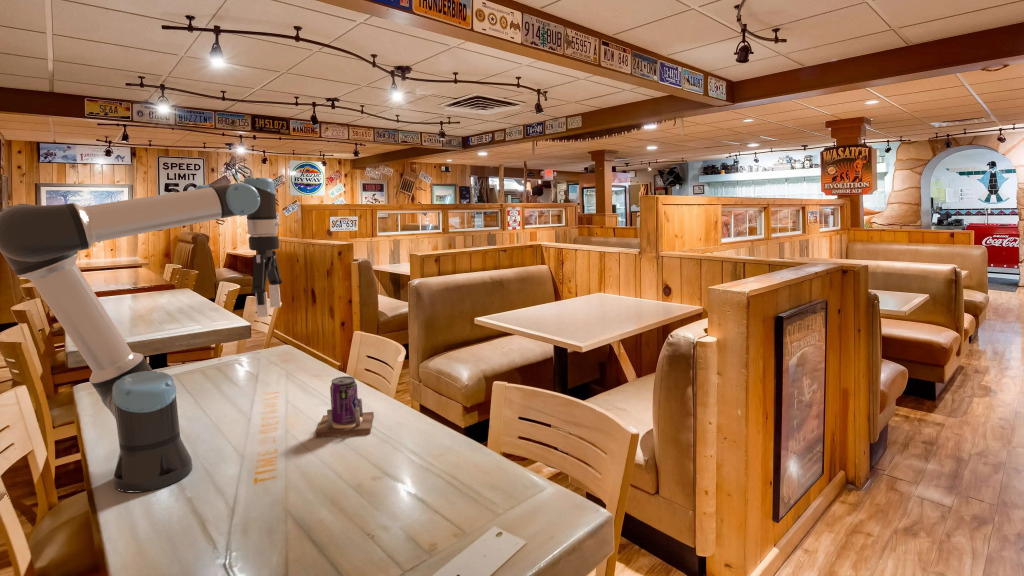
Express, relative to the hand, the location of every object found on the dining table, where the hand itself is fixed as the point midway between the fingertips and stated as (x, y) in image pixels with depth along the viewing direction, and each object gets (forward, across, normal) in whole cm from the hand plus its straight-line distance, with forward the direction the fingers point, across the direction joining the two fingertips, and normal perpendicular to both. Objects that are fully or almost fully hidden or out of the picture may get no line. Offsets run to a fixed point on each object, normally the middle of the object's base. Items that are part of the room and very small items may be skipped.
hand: (269, 311), depth 156 cm
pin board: (+32, -9, -20) cm, 39 cm away
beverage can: (+30, -9, -20) cm, 37 cm away
